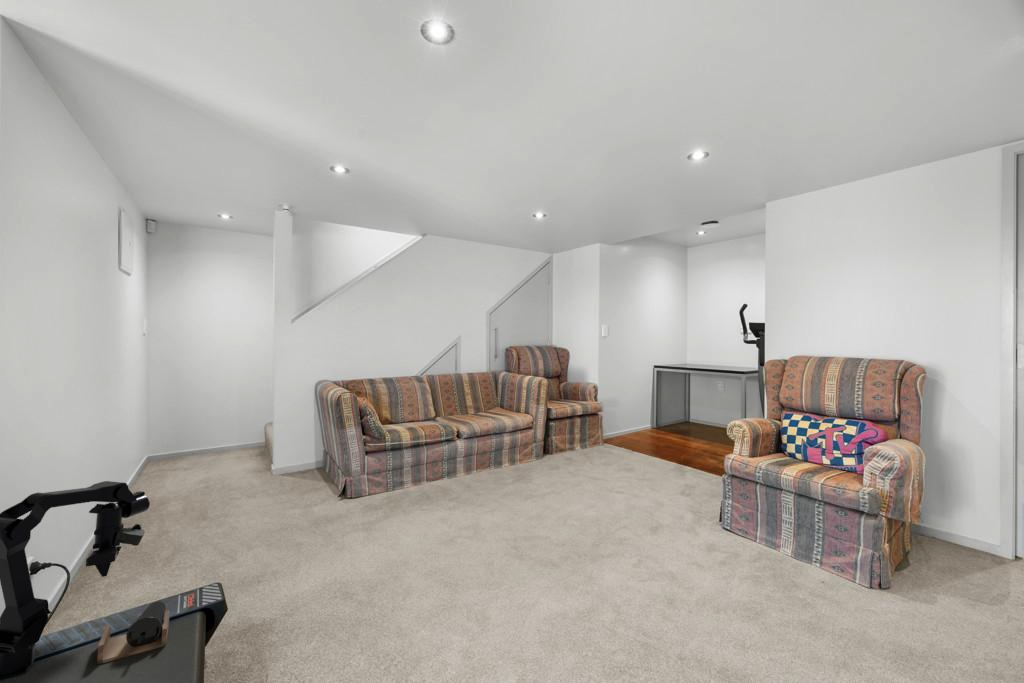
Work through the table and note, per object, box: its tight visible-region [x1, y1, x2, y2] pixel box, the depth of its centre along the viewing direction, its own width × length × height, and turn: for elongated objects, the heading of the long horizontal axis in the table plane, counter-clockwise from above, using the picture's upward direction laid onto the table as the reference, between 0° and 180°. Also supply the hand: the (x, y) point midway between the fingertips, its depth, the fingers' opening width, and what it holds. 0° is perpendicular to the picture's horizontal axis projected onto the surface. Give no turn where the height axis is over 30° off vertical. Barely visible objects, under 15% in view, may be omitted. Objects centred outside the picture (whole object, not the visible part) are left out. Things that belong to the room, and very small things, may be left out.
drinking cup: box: [126, 601, 167, 647], centre depth 122 cm, size 8×8×20 cm
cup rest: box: [96, 609, 171, 665], centre depth 120 cm, size 14×10×5 cm
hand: (104, 576), depth 130 cm, fingers closed
